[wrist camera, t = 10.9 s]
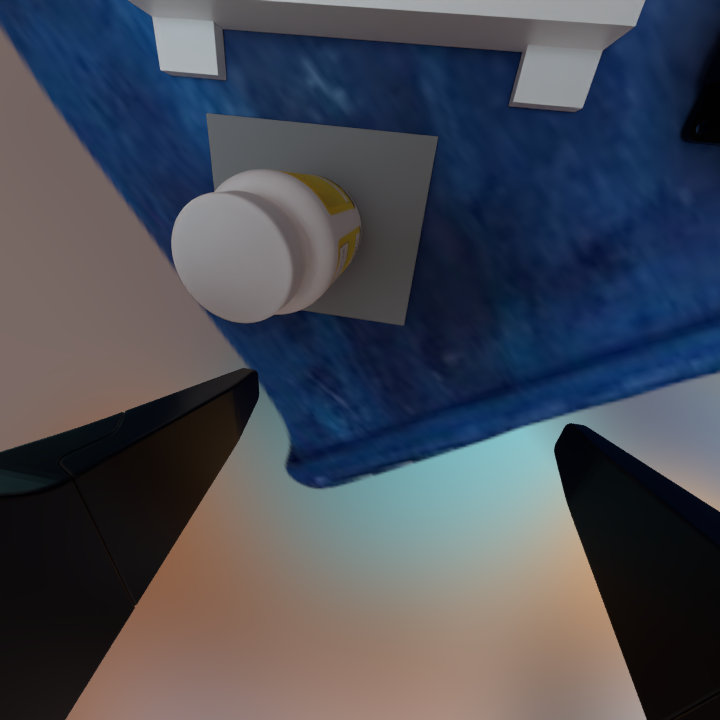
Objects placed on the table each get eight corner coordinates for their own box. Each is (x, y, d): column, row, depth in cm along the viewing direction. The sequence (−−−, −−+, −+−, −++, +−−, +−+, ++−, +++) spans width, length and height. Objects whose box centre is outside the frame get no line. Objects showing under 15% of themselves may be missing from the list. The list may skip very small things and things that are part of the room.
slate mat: (437, 137, 16) (438, 136, 15) (404, 322, 21) (403, 325, 20) (211, 115, 17) (206, 113, 16) (229, 296, 22) (225, 298, 21)
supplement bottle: (258, 190, 18) (113, 188, 9) (350, 163, 16) (282, 132, 8) (289, 284, 20) (196, 352, 12) (371, 266, 19) (337, 329, 10)
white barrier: (629, -49, 12) (688, -114, 10) (574, 112, 15) (609, 94, 12) (150, -73, 14) (88, -135, 11) (171, 75, 16) (125, 53, 14)
